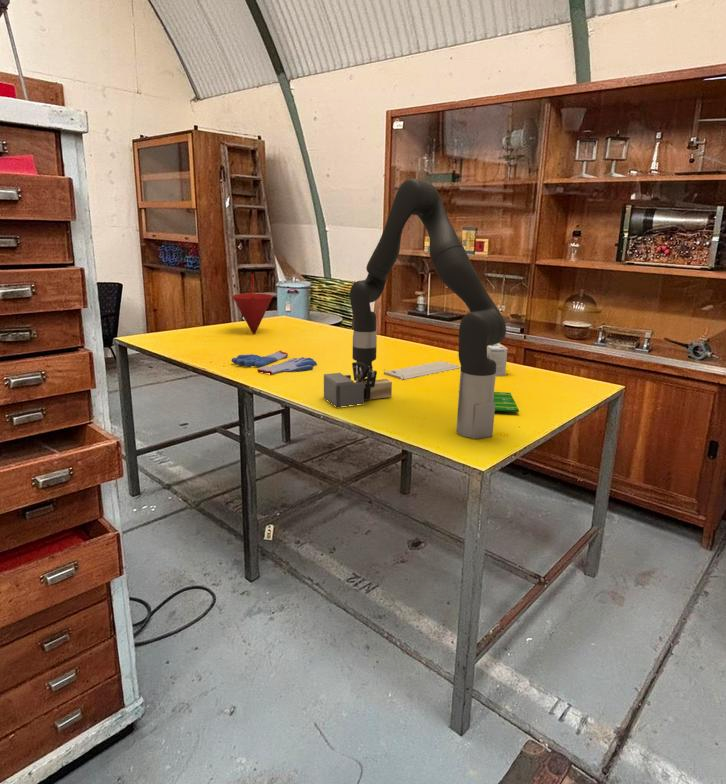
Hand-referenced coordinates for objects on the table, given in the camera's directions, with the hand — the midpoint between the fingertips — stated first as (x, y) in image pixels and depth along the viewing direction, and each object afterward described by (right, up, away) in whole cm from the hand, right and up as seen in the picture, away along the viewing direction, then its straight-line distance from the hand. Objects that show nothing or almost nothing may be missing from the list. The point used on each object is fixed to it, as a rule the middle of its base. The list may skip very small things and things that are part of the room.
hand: (363, 396), depth 184 cm
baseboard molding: (+23, +9, +36) cm, 44 cm away
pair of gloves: (-35, +12, +42) cm, 56 cm away
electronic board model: (+41, -1, +3) cm, 41 cm away
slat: (0, 0, 0) cm, 0 cm away
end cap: (-6, -1, -3) cm, 7 cm away
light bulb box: (+50, +9, +37) cm, 62 cm away
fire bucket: (-54, +30, +101) cm, 118 cm away
